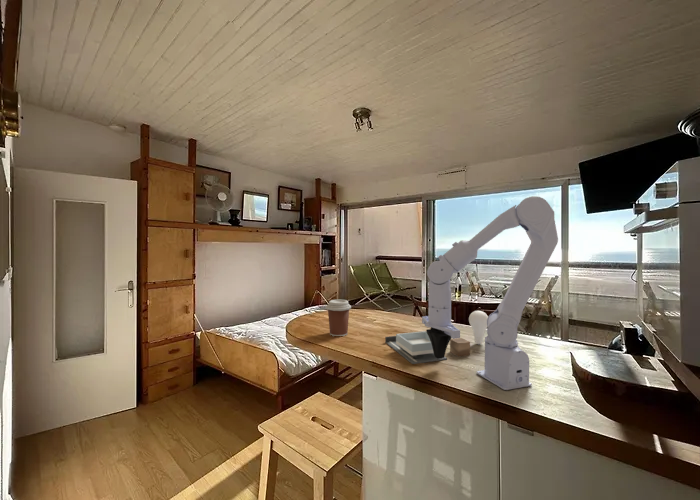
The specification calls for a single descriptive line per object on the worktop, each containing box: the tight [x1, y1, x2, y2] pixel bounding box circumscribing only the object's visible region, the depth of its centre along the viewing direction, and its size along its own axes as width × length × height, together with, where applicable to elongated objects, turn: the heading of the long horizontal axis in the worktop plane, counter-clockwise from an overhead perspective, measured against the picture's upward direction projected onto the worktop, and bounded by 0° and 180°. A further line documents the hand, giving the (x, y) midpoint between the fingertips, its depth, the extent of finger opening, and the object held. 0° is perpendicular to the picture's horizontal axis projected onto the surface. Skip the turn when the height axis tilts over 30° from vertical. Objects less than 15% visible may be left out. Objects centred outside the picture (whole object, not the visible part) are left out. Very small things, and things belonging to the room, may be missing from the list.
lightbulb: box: [468, 310, 489, 345], centre depth 98 cm, size 6×6×11 cm
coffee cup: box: [325, 299, 352, 337], centre depth 109 cm, size 9×9×12 cm
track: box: [384, 335, 448, 365], centre depth 93 cm, size 18×11×2 cm, turn 17°
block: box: [449, 337, 471, 357], centre depth 90 cm, size 4×4×4 cm
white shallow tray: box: [395, 330, 434, 358], centre depth 90 cm, size 10×10×4 cm
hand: (439, 357), depth 80 cm, fingers closed
